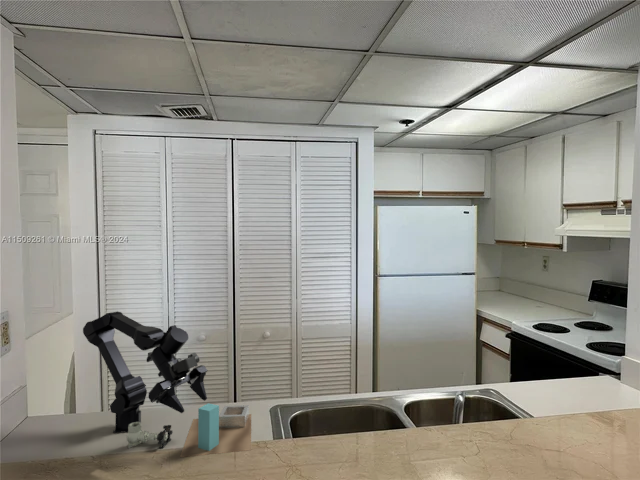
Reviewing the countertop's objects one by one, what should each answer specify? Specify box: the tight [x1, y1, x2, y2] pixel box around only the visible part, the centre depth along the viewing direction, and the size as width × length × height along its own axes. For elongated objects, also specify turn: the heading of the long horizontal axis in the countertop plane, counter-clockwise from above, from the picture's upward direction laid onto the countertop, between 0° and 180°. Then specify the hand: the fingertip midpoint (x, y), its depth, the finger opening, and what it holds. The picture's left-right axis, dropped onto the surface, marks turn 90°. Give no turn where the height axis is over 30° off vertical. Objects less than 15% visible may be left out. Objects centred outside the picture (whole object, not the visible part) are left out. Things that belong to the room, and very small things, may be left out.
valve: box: [126, 421, 174, 450], centre depth 106 cm, size 7×7×12 cm
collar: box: [219, 404, 250, 428], centre depth 120 cm, size 8×8×4 cm
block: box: [197, 402, 220, 451], centre depth 105 cm, size 4×4×11 cm
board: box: [179, 413, 252, 458], centre depth 112 cm, size 19×23×1 cm
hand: (194, 405), depth 107 cm, fingers open, 9 cm apart
